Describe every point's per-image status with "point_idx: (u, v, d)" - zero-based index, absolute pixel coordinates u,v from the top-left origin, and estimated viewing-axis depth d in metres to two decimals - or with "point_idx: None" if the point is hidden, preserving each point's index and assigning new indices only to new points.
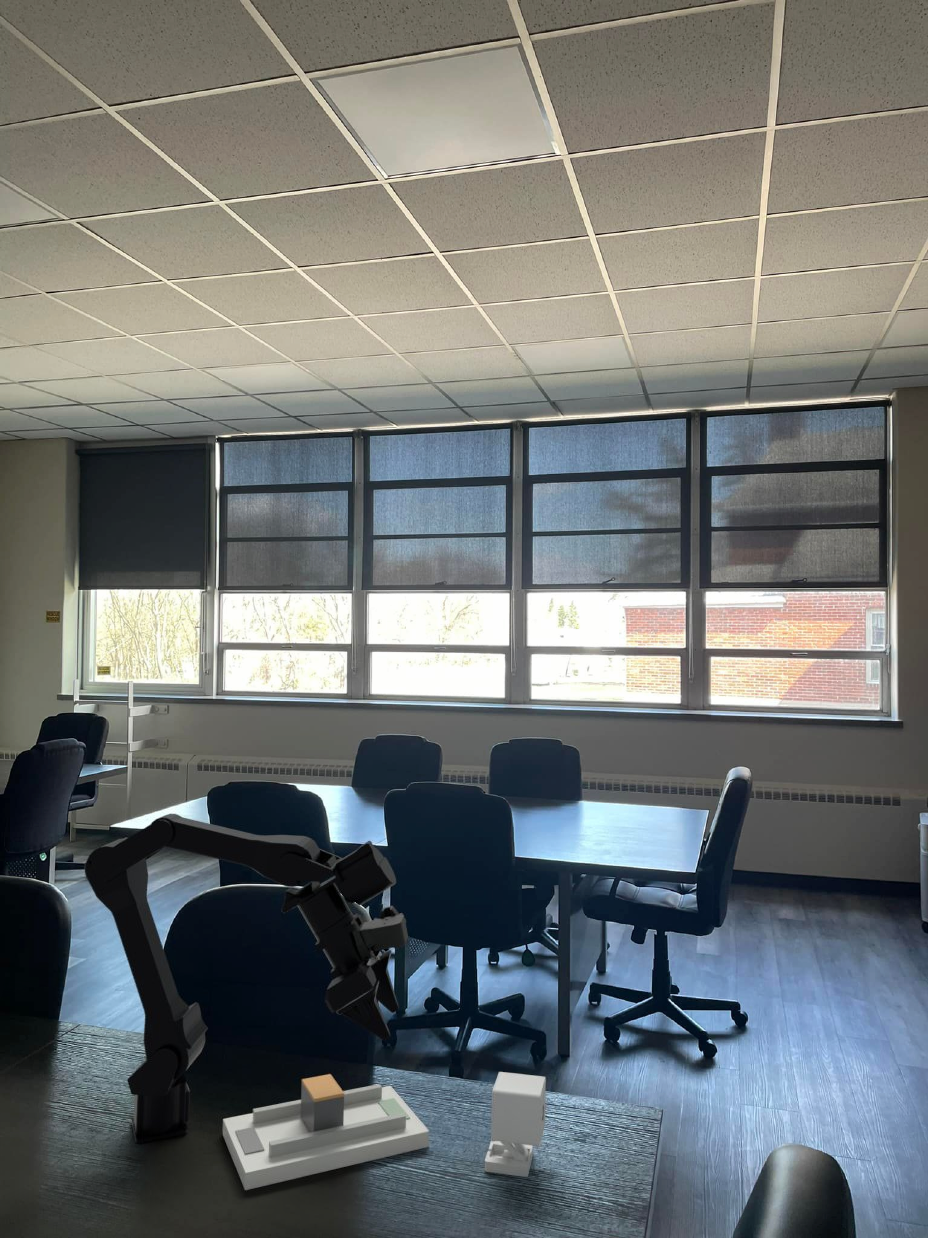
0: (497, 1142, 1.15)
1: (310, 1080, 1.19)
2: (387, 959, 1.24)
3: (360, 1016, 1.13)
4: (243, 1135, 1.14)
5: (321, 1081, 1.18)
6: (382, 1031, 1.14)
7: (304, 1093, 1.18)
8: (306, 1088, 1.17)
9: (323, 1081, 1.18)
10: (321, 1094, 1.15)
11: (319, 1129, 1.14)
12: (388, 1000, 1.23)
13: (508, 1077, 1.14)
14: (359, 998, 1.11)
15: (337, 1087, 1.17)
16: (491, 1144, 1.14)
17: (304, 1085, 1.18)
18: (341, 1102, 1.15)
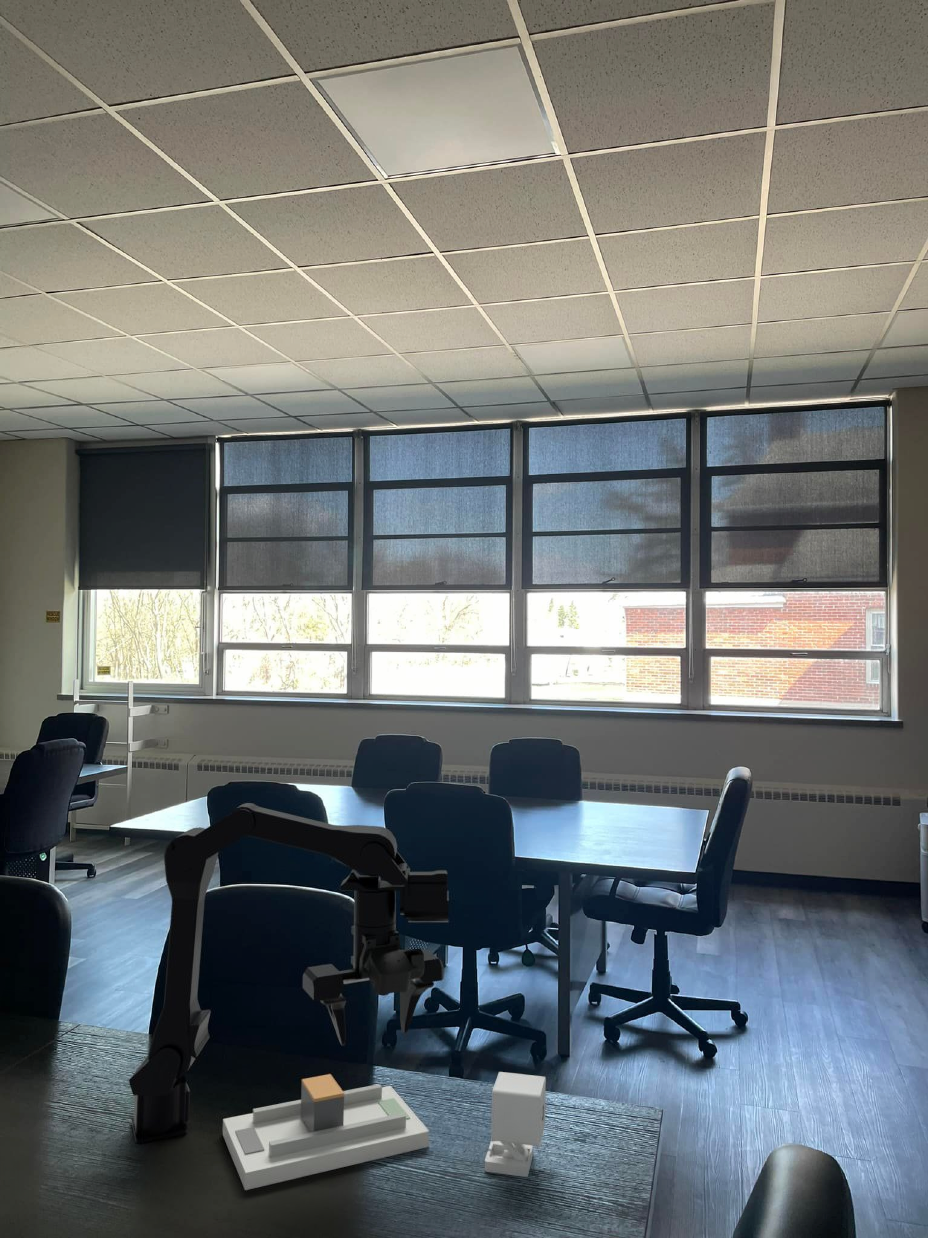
0: (497, 1142, 1.15)
1: (310, 1080, 1.19)
2: (414, 989, 1.21)
3: (330, 1009, 1.19)
4: (243, 1135, 1.14)
5: (321, 1081, 1.18)
6: (338, 1036, 1.18)
7: (304, 1093, 1.18)
8: (306, 1088, 1.17)
9: (323, 1081, 1.18)
10: (321, 1094, 1.15)
11: (319, 1129, 1.14)
12: (402, 1018, 1.23)
13: (508, 1077, 1.14)
14: None
15: (337, 1087, 1.17)
16: (491, 1144, 1.14)
17: (304, 1085, 1.18)
18: (341, 1102, 1.15)
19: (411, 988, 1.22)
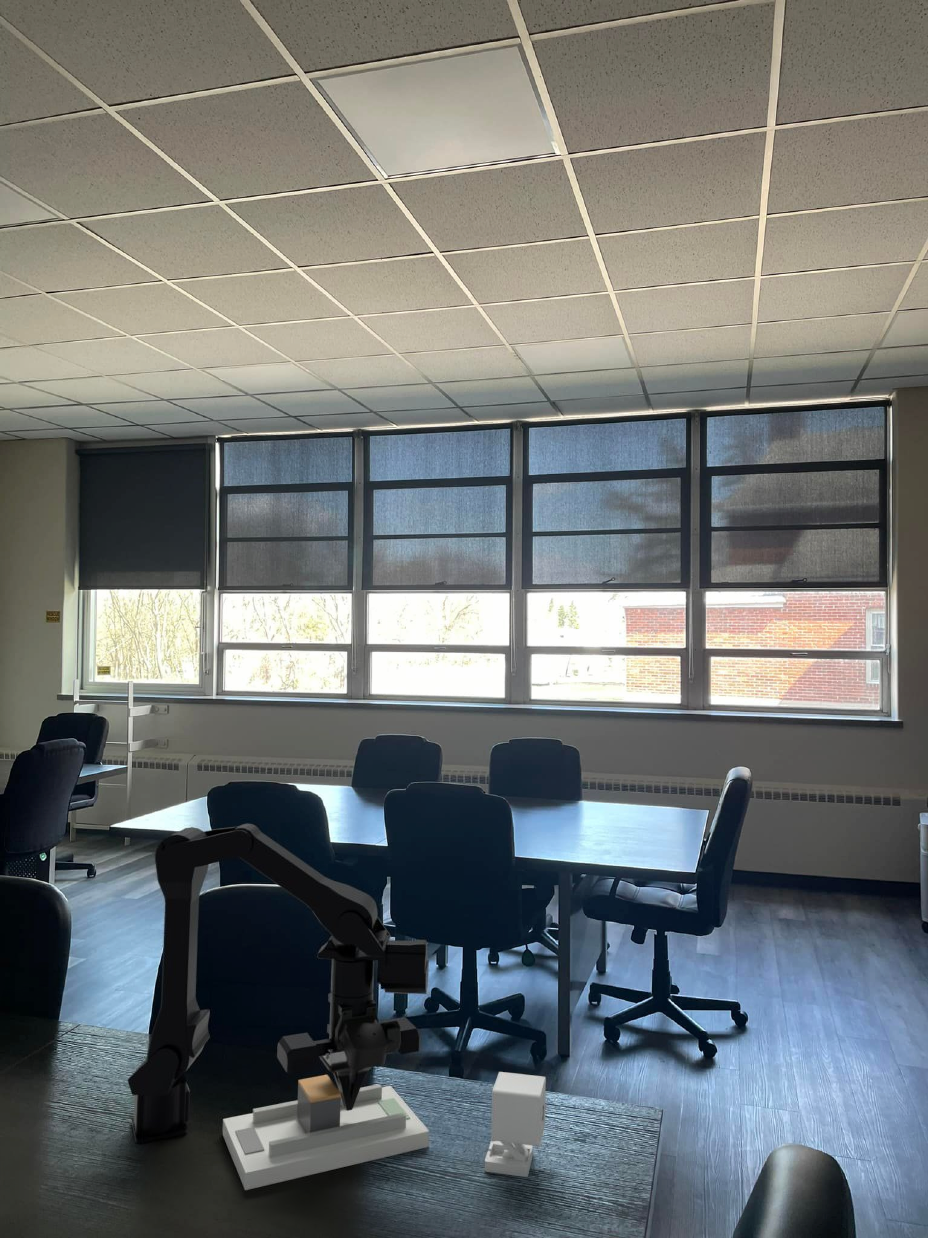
0: (497, 1142, 1.15)
1: (307, 1080, 1.19)
2: None
3: (335, 1073, 1.19)
4: (243, 1135, 1.14)
5: (317, 1082, 1.18)
6: (343, 1101, 1.18)
7: (301, 1094, 1.17)
8: (303, 1089, 1.17)
9: (320, 1082, 1.18)
10: (317, 1095, 1.15)
11: (315, 1130, 1.13)
12: None
13: (508, 1077, 1.14)
14: (325, 1063, 1.17)
15: (334, 1088, 1.17)
16: (491, 1144, 1.14)
17: (301, 1086, 1.18)
18: (338, 1103, 1.15)
19: None
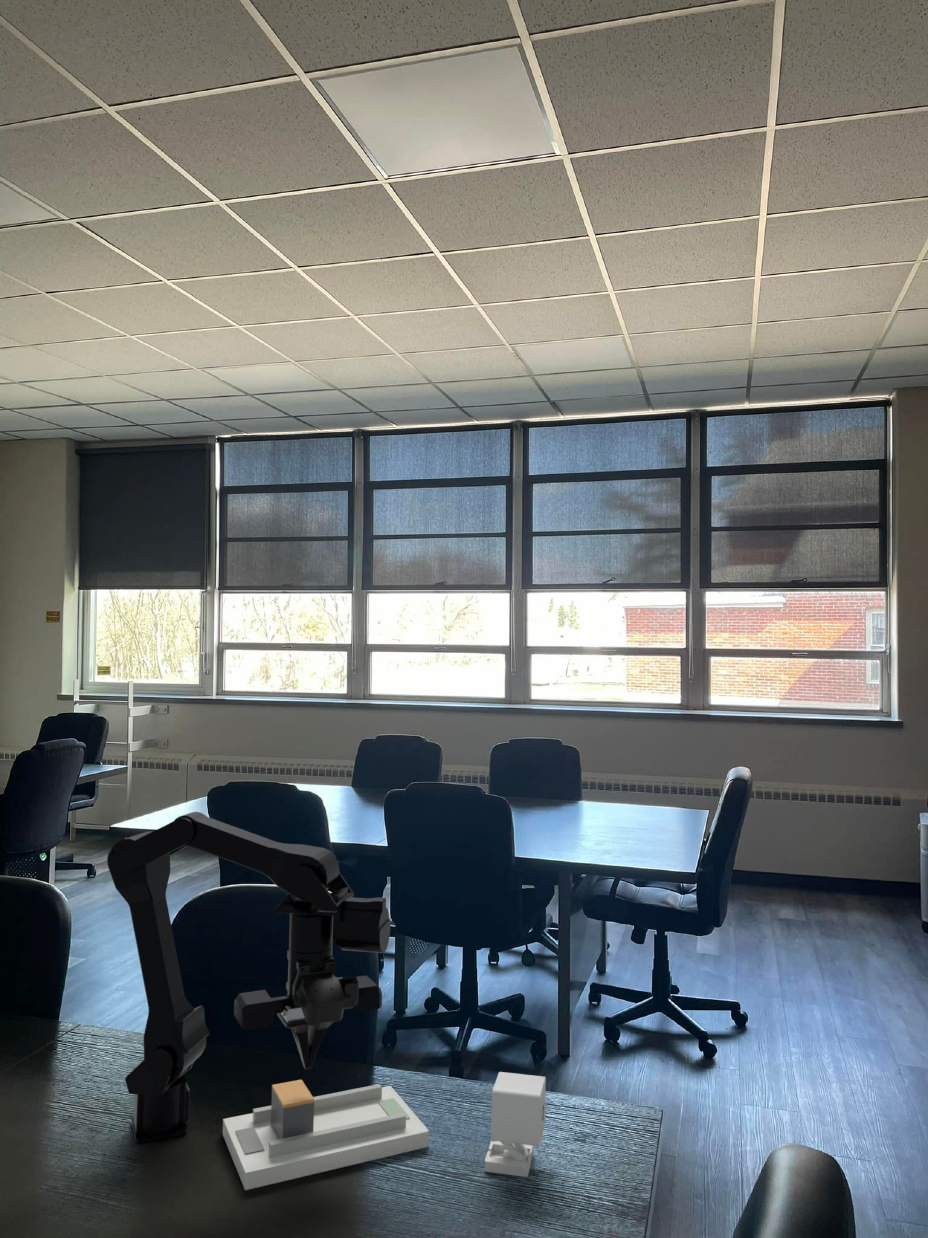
0: (497, 1142, 1.15)
1: (281, 1085, 1.17)
2: None
3: (294, 1031, 1.17)
4: (243, 1135, 1.14)
5: (291, 1087, 1.17)
6: (302, 1059, 1.16)
7: (274, 1099, 1.16)
8: (276, 1094, 1.15)
9: (293, 1087, 1.17)
10: (290, 1100, 1.13)
11: (288, 1136, 1.12)
12: None
13: (508, 1077, 1.14)
14: (283, 1020, 1.15)
15: (307, 1093, 1.15)
16: (491, 1144, 1.14)
17: (274, 1091, 1.16)
18: (311, 1108, 1.13)
19: None
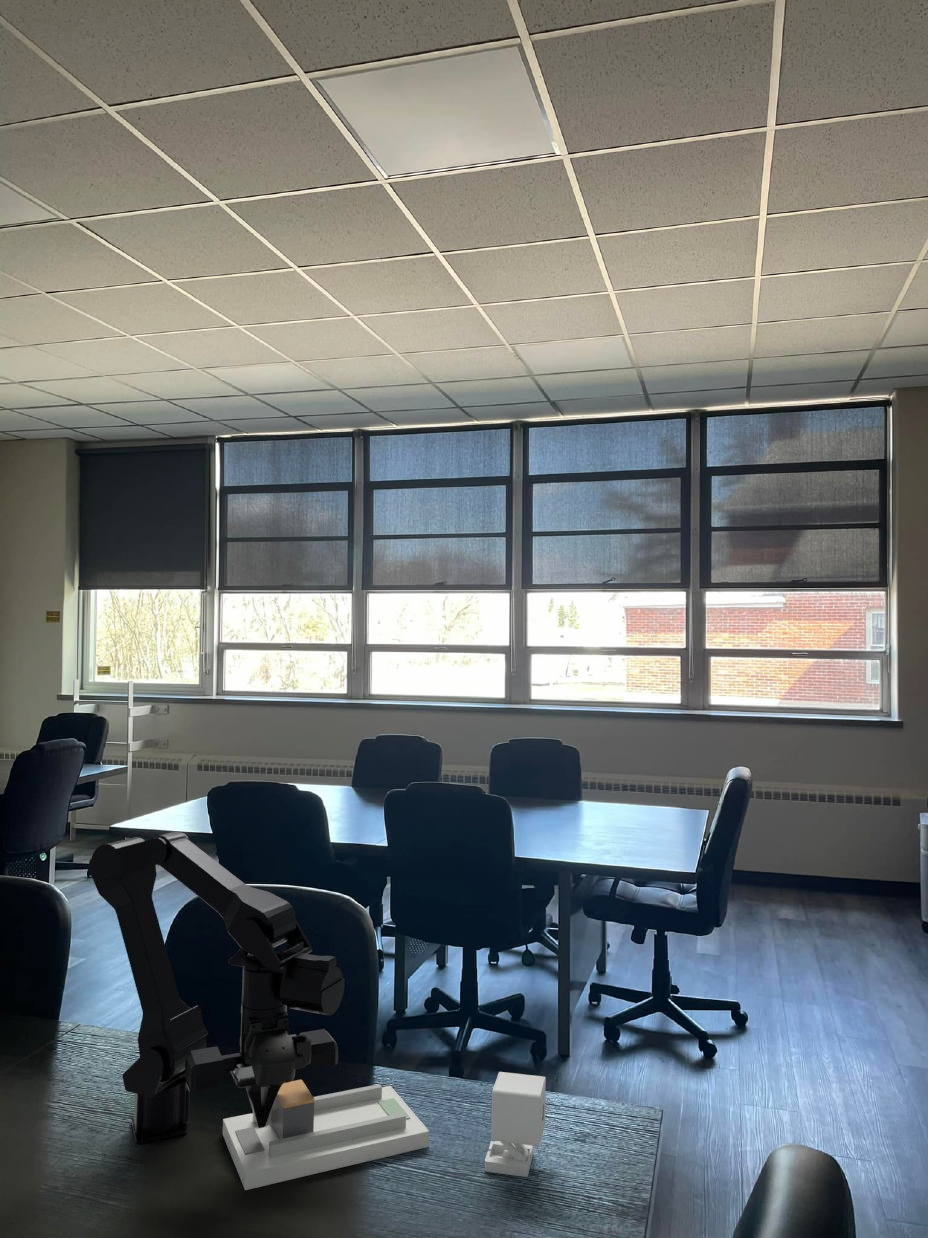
0: (497, 1142, 1.15)
1: None
2: None
3: None
4: (243, 1135, 1.14)
5: (291, 1087, 1.17)
6: (255, 1118, 1.13)
7: None
8: None
9: (294, 1087, 1.17)
10: (290, 1100, 1.13)
11: (288, 1136, 1.12)
12: None
13: (508, 1077, 1.14)
14: (234, 1078, 1.12)
15: (308, 1093, 1.15)
16: (491, 1144, 1.14)
17: None
18: (311, 1108, 1.13)
19: None
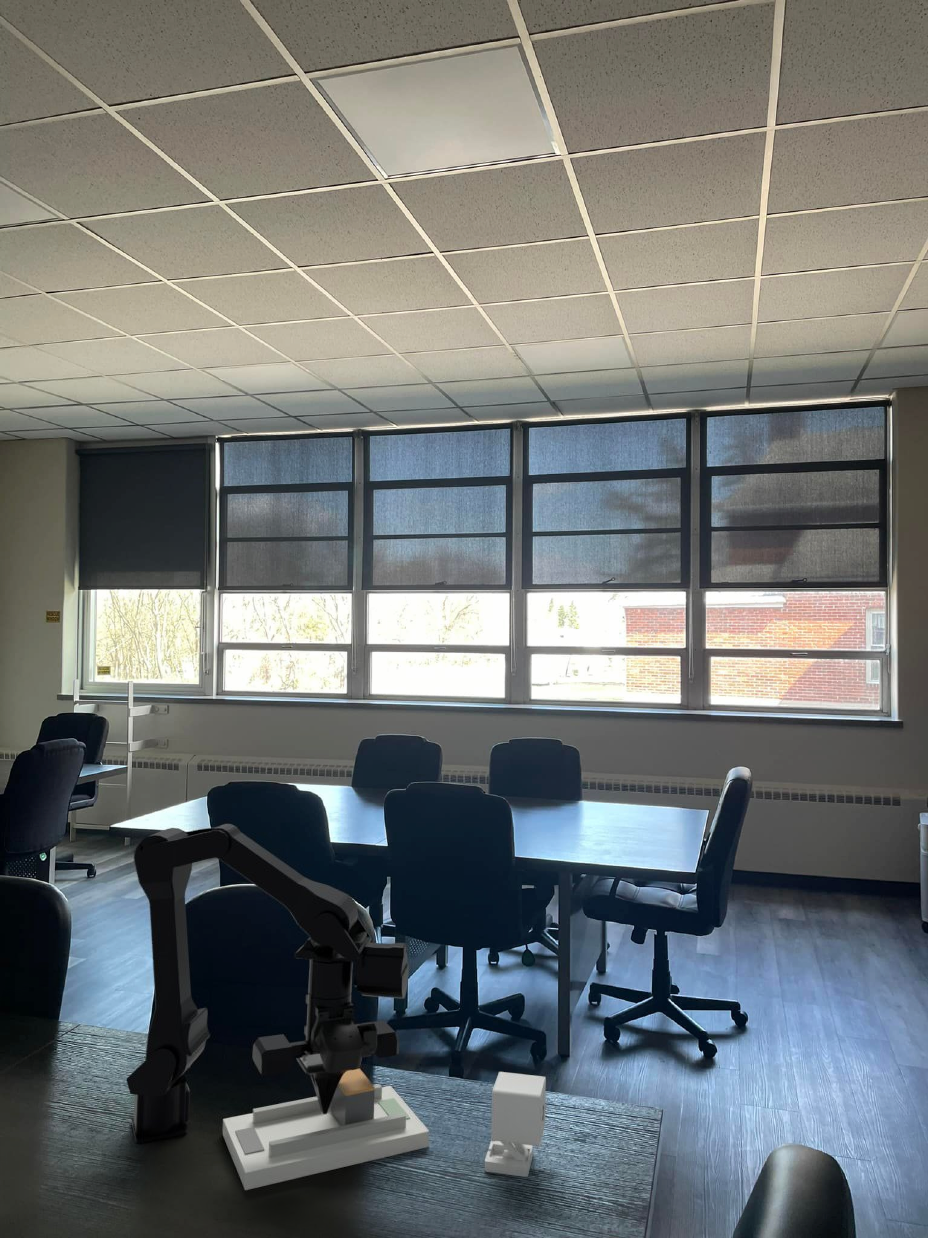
0: (497, 1142, 1.15)
1: None
2: None
3: (312, 1076, 1.18)
4: (243, 1135, 1.14)
5: (351, 1075, 1.20)
6: (320, 1104, 1.17)
7: None
8: None
9: (353, 1075, 1.20)
10: (351, 1088, 1.17)
11: (350, 1122, 1.16)
12: None
13: (508, 1077, 1.14)
14: (302, 1065, 1.15)
15: (367, 1081, 1.19)
16: (491, 1144, 1.14)
17: None
18: (371, 1096, 1.17)
19: None
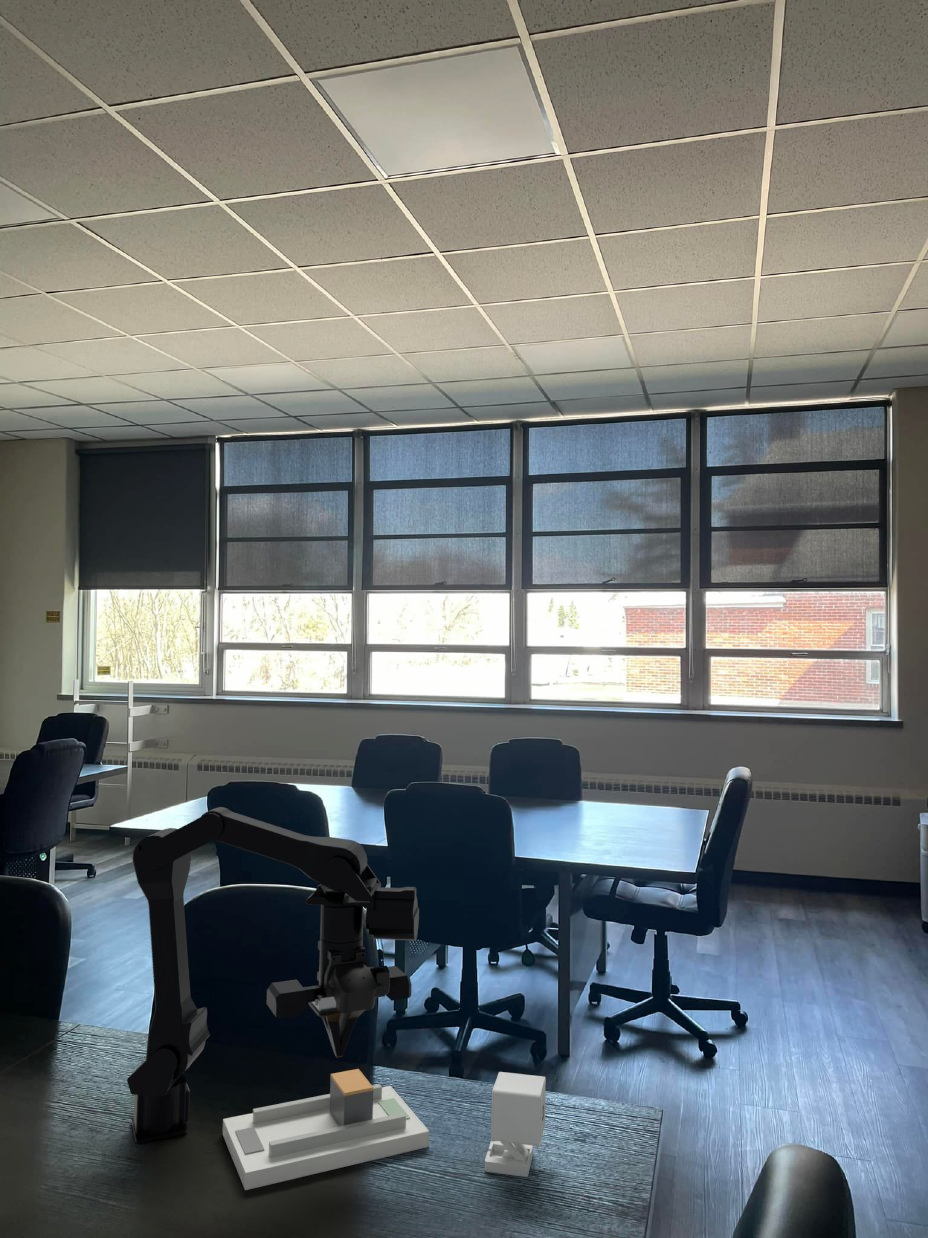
0: (497, 1142, 1.15)
1: (339, 1074, 1.21)
2: None
3: (325, 1020, 1.19)
4: (243, 1135, 1.14)
5: (350, 1076, 1.20)
6: (333, 1048, 1.18)
7: (333, 1087, 1.19)
8: (335, 1082, 1.19)
9: (352, 1076, 1.20)
10: (350, 1088, 1.17)
11: (349, 1123, 1.15)
12: None
13: (508, 1077, 1.14)
14: (315, 1009, 1.16)
15: (366, 1081, 1.19)
16: (491, 1144, 1.14)
17: (333, 1079, 1.20)
18: (370, 1096, 1.17)
19: None
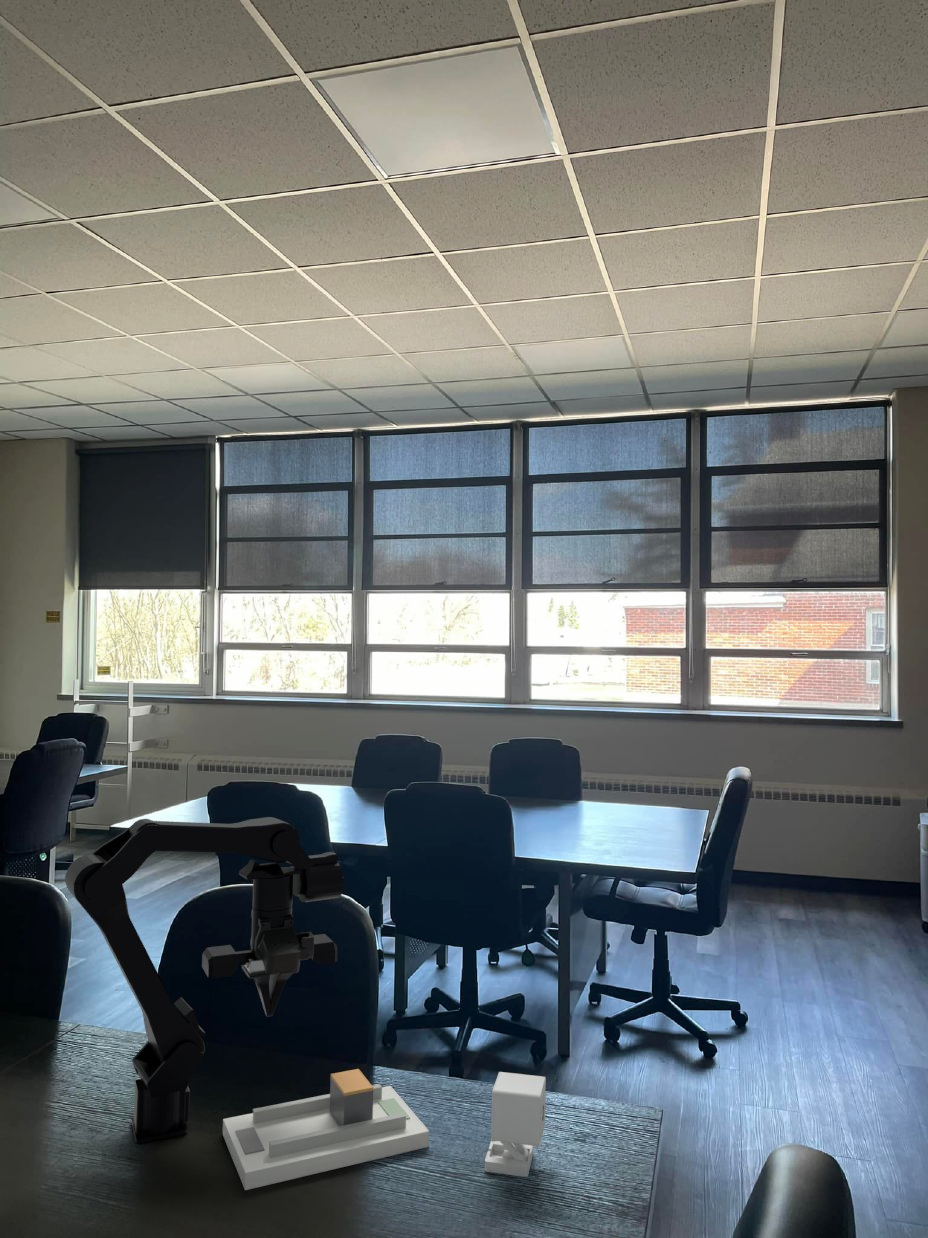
0: (497, 1142, 1.15)
1: (339, 1074, 1.21)
2: (279, 974, 1.27)
3: (257, 983, 1.29)
4: (243, 1135, 1.14)
5: (350, 1076, 1.20)
6: (264, 1008, 1.28)
7: (333, 1087, 1.19)
8: (335, 1082, 1.19)
9: (352, 1076, 1.20)
10: (350, 1088, 1.17)
11: (349, 1123, 1.15)
12: None
13: (508, 1077, 1.14)
14: (246, 971, 1.27)
15: (366, 1081, 1.19)
16: (491, 1144, 1.14)
17: (333, 1079, 1.20)
18: (370, 1096, 1.17)
19: (277, 973, 1.28)
